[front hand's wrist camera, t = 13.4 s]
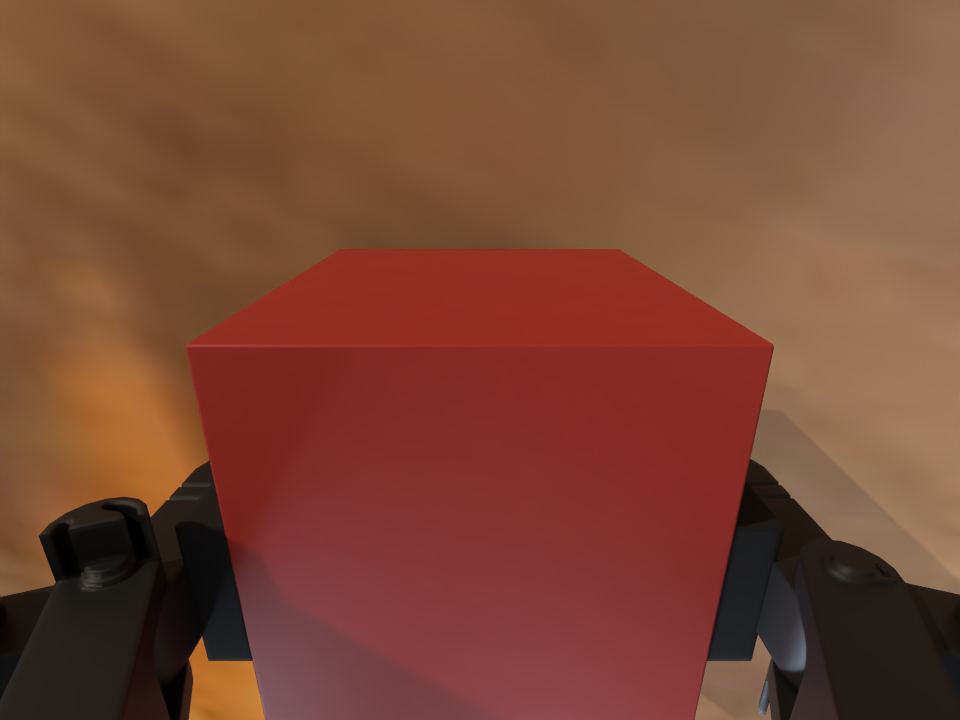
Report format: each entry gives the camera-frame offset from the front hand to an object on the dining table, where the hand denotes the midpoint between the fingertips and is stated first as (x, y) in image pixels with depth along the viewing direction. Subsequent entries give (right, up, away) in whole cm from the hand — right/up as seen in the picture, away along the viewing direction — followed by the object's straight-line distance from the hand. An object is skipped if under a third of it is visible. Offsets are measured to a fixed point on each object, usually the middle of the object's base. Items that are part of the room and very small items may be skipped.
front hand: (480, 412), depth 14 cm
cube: (0, +1, +1) cm, 1 cm away
